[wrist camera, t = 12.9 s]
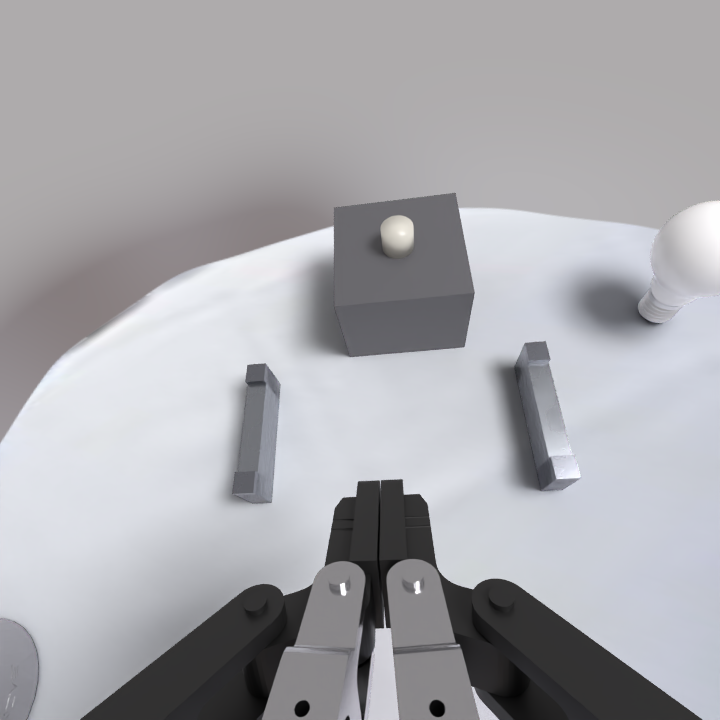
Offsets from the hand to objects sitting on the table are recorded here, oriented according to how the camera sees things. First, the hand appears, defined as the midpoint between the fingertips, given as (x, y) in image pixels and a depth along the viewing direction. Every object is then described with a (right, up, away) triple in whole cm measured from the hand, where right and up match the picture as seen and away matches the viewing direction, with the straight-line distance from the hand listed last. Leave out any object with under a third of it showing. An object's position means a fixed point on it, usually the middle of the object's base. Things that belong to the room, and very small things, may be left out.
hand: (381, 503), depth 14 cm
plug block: (+3, +10, +25) cm, 27 cm away
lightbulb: (+24, +9, +22) cm, 33 cm away
